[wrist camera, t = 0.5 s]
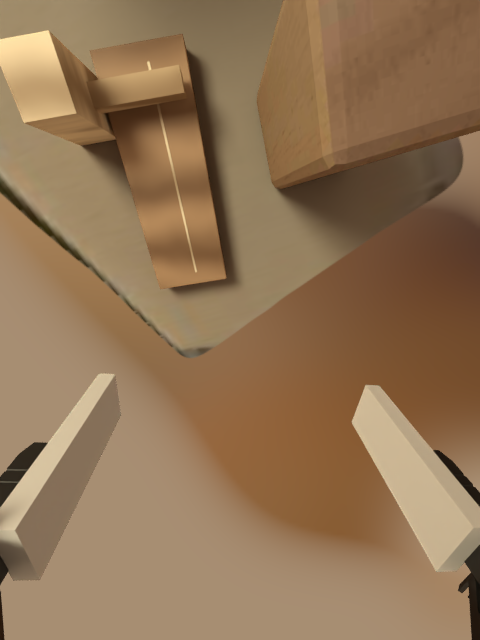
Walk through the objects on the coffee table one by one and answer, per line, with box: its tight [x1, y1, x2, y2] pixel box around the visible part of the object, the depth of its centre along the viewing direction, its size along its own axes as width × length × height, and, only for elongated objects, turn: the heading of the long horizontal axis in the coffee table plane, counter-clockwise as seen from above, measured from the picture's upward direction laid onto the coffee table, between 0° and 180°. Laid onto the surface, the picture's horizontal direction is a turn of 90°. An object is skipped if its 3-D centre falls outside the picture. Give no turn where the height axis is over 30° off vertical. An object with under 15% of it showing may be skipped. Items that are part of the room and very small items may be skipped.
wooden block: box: [257, 0, 480, 189], centre depth 21 cm, size 10×10×20 cm
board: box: [90, 34, 226, 289], centre depth 30 cm, size 24×9×2 cm, turn 9°
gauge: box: [0, 30, 187, 146], centre depth 24 cm, size 5×14×9 cm, turn 99°
